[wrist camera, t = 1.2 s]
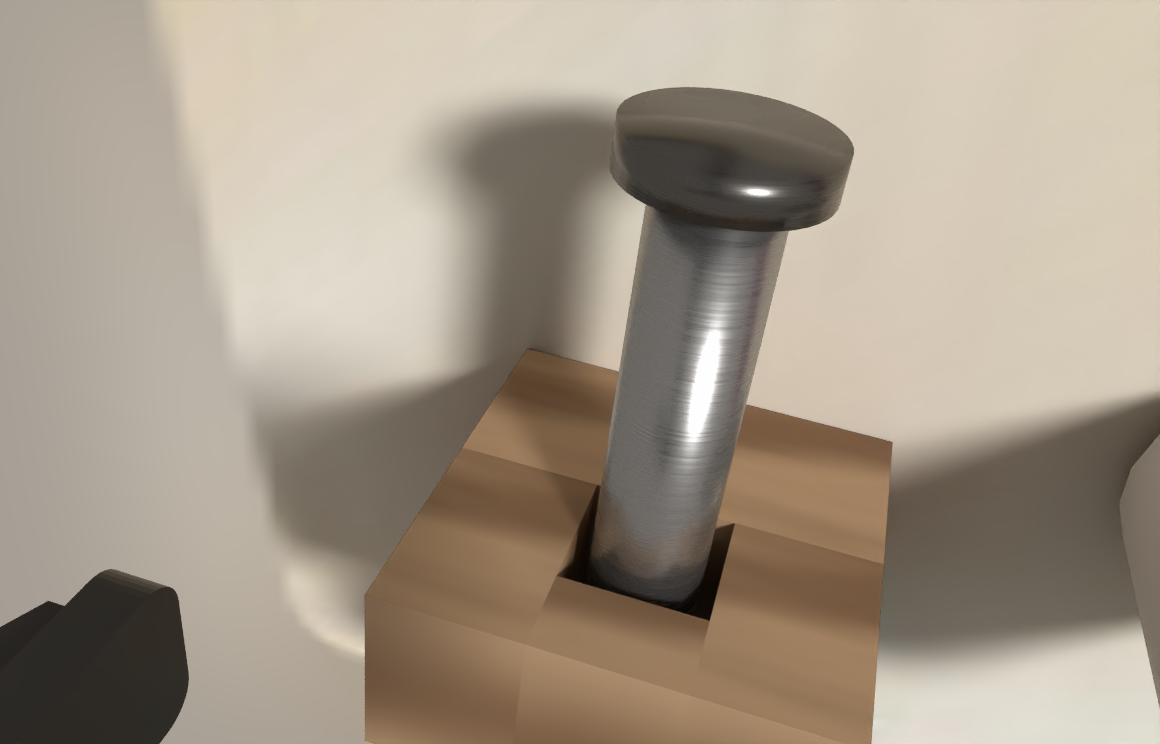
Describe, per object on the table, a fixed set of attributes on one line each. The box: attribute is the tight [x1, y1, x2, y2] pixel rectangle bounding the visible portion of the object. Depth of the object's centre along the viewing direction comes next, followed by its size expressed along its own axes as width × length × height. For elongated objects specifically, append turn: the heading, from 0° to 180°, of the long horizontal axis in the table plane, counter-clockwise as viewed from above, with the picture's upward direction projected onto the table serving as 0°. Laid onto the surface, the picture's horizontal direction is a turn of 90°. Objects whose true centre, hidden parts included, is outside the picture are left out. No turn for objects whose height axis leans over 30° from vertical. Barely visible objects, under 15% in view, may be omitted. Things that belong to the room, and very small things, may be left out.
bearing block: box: [365, 349, 892, 744], centre depth 28 cm, size 5×11×11 cm, turn 83°
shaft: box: [585, 87, 854, 616], centre depth 25 cm, size 20×4×4 cm, turn 173°
